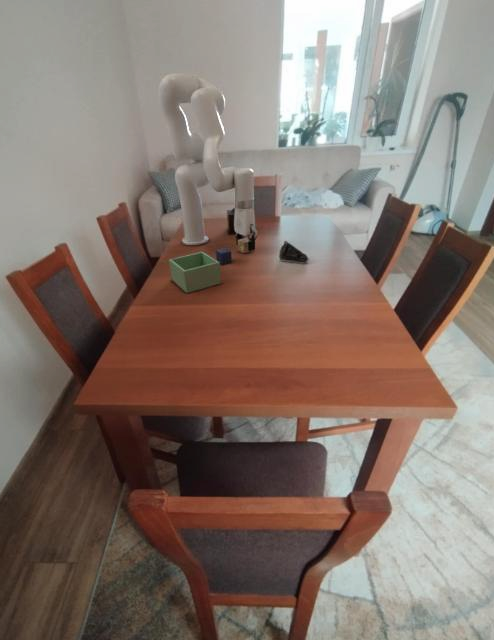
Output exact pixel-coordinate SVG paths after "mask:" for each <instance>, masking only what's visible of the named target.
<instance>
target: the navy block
mask: <svg viewBox="0 0 494 640" xmlns="http://www.w3.org/2000/svg"><path fill="white" fill-rule="evenodd" d="M215 257H216V259H215V260H217V261H218V262H220V266H221V265H222V266H223V265H227V264H231V263H232V262H233V258H232V250H230V249H229V248H226V247H225V248H221V249H217V250H215Z"/></svg>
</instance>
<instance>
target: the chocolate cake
mask: <svg viewBox="0 0 494 640" xmlns="http://www.w3.org/2000/svg"><path fill="white" fill-rule="evenodd" d="M278 258H279V261H280V262H286V263H294V264H302V265H304V264H307V263H308V261H309V257H308V255H307V254H305V253H303V252H302V251H301V250H300V249H299V248H297V247H295V245H293V244H291V243H290V242H289V241H288V240H287V241H286V240H284V242H283V245H282V246H281V247H280V250H279V254H278Z"/></svg>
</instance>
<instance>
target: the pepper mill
mask: <svg viewBox="0 0 494 640" xmlns="http://www.w3.org/2000/svg"><path fill="white" fill-rule="evenodd" d="M234 214H235V207H233V208H231V209H227V210H226V220H227V232H228V235H230V236H231V235H235V236H236V234H235V233H236V232H235V230H234Z"/></svg>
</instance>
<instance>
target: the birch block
mask: <svg viewBox="0 0 494 640" xmlns="http://www.w3.org/2000/svg"><path fill="white" fill-rule="evenodd" d="M248 241H249V240H248V237H245V238H244V237H243V239H240V240H238V245H237V251H238V252H240V253H242V254H247V253H251V252H252V251H248Z"/></svg>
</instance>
